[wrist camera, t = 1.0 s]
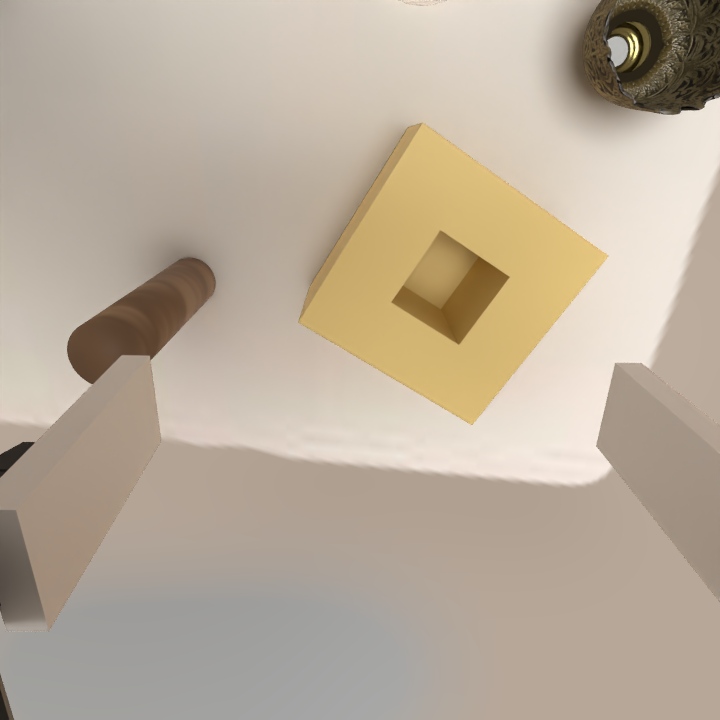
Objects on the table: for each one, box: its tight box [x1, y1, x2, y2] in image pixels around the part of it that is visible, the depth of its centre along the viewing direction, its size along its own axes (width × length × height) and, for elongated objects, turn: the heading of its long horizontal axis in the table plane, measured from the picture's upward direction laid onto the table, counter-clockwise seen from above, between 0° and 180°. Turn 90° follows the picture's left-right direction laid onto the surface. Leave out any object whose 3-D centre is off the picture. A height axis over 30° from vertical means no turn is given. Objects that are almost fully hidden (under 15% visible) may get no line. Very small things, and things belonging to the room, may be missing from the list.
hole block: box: [298, 123, 608, 425], centre depth 33 cm, size 12×12×8 cm
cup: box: [583, 0, 720, 115], centre depth 29 cm, size 8×7×8 cm
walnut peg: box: [67, 258, 215, 384], centre depth 31 cm, size 3×3×14 cm
